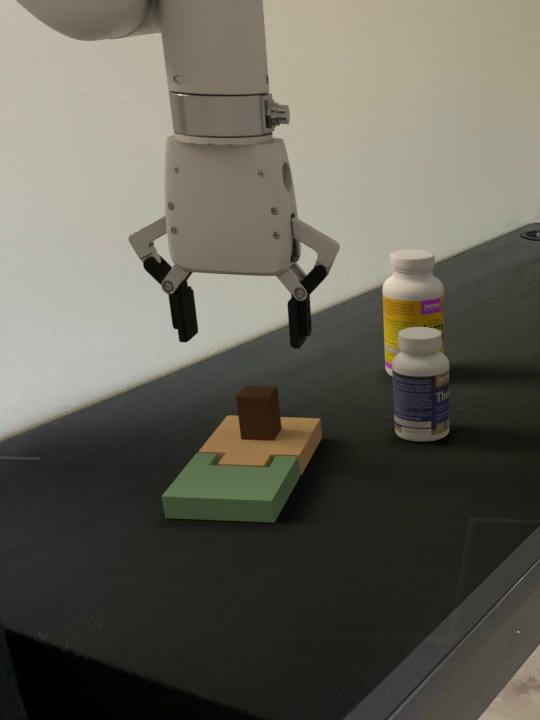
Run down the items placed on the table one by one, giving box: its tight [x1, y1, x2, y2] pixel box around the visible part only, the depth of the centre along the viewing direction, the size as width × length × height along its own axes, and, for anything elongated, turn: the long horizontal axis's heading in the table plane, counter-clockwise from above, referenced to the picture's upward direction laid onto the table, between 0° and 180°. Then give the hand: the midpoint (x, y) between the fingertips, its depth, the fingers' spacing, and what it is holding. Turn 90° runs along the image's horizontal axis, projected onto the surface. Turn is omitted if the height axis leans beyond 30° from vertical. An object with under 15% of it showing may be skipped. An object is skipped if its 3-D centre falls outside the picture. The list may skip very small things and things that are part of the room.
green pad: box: [161, 452, 301, 524], centre depth 83 cm, size 9×9×2 cm
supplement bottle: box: [382, 248, 445, 378], centre depth 108 cm, size 7×7×13 cm
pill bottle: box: [392, 327, 451, 443], centre depth 93 cm, size 5×5×10 cm
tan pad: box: [198, 385, 323, 476], centre depth 89 cm, size 9×12×6 cm
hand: (243, 341), depth 85 cm, fingers open, 9 cm apart
